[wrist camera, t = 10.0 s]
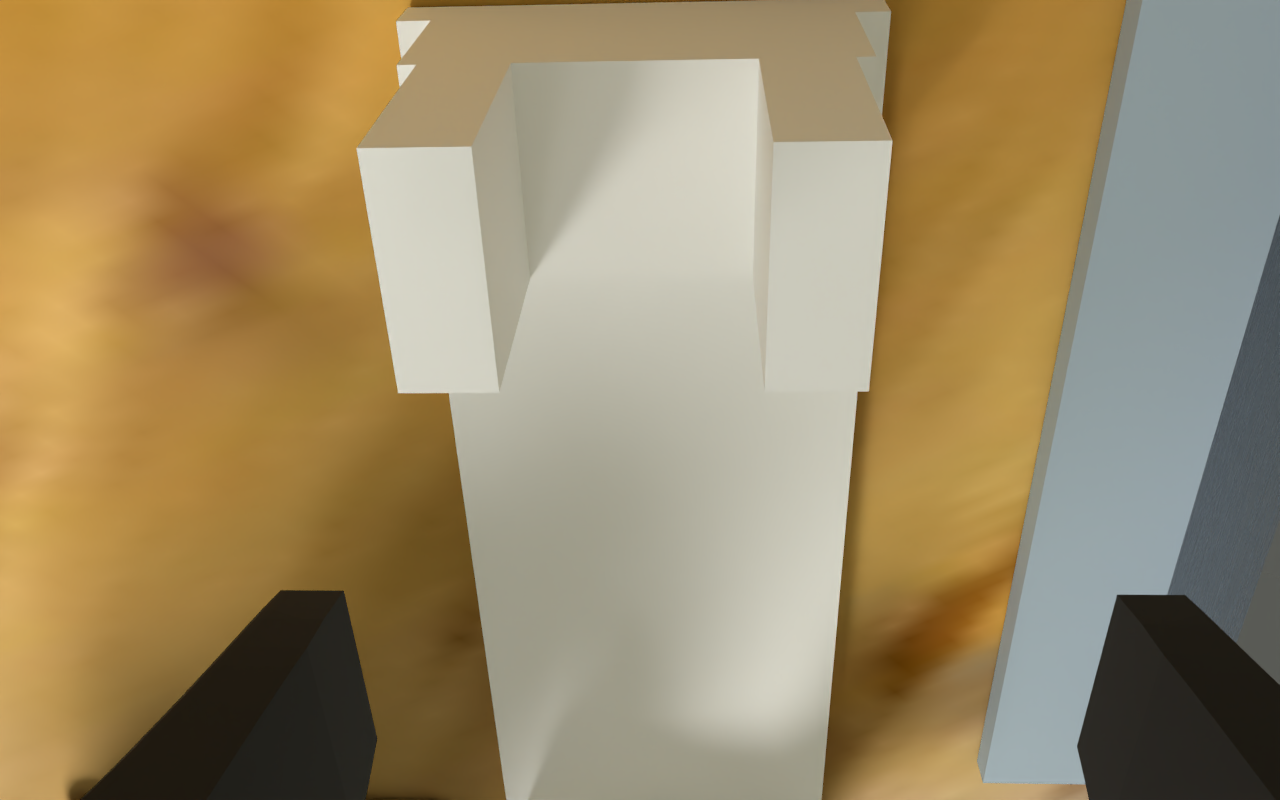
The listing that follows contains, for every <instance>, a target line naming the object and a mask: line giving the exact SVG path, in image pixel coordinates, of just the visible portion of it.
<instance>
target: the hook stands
mask: <svg viewBox="0 0 1280 800" xmlns="http://www.w3.org/2000/svg"><path fill="white" fill-rule="evenodd" d="M890 19H891V10H890V9H889V7H888V5H887V4H886V2H885V0H751V1H702V2H653V3H604V4H555V5H506V6H456V7H408V8H407V9H406V10H405V11H404V12H403V14H402V15H401V16H400V17H399V18H398V19H397V21H396V25H397V32H398V39H399V47H400V54H401V60H400V61H399V63H398V64H397V72H398V79H399V86H400V88H399V89H398V91H397V92H396V94H395V95H394V96H393V98H392V99H391V101H390V102H389V103H388V105H387V106H386V108H385V109H384V110H383V112H382V113H381V115H380V116H379V117H378V119H377V120H376V122H375V123H374V124H373V126H372V127H371V129H370V130H369V131H368V133H367V134H366V136H365V137H364V138H363V140H362V141H361V143H360V144H359V145H358V147H357V154H358V160H359V166H360V172H361V178H362V183H363V189H364V195H365V201H366V207H367V213H368V219H369V225H370V230H371V236H372V242H373V248H374V254H375V260H376V266H377V272H378V277H379V283H380V289H381V295H382V301H383V307H384V313H385V319H386V324H387V330H388V336H389V342H390V348H391V354H392V360H393V366H394V371H395V377H396V383H397V389H398V393H449V399H450V406H451V413H452V420H453V427H454V434H455V441H456V448H457V456H458V463H459V470H460V477H461V484H462V491H463V498H464V505H465V512H466V519H467V526H468V533H469V540H470V547H471V554H472V561H473V568H474V575H475V582H476V589H477V597H478V604H479V611H480V618H481V625H482V632H483V639H484V646H485V653H486V660H487V667H488V674H489V681H490V688H491V695H492V702H493V709H494V716H495V723H496V731H497V738H498V745H499V752H500V759H501V766H502V773H503V780H504V787H505V794H506V800H822V789H823V777H824V766H825V755H826V743H827V732H828V721H829V709H830V698H831V687H832V675H833V664H834V653H835V642H836V630H837V619H838V608H839V596H840V585H841V574H842V562H843V551H844V540H845V528H846V517H847V506H848V494H849V483H850V472H851V460H852V449H853V438H854V426H855V415H856V404H857V392H867V391H869V384H870V374H871V363H872V353H873V342H874V332H875V321H876V310H877V300H878V289H879V279H880V268H881V258H882V247H883V237H884V226H885V215H886V205H887V194H888V184H889V173H890V163H891V152H892V141H893V140H892V138H891V136H890V133H889V131H888V129H887V126H886V124H885V122H884V120H883V117H882V109H883V98H884V87H885V75H886V64H887V53H888V42H889V30H890Z"/></svg>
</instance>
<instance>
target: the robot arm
mask: <svg viewBox="0 0 1280 800" xmlns="http://www.w3.org/2000/svg"><path fill="white" fill-rule="evenodd" d="M376 742H377V736H376V732H375V727H374V723H373V718H372V714H371V709H370V705H369V701H368V696H367V692H366V687H365V683H364V679H363V674H362V670H361V665H360V661H359V656H358V652H357V648H356V643H355V639H354V634H353V630H352V625H351V621H350V617H349V612H348V608H347V603H346V599H345V594H344V591H284V590H281V591H280V592H279V593H278V594H277V595H276V596H275V597H274V598H273V599H272V600H271V601H270V602H269V603H268V604H267V605H266V606H265V607H264V608H263V609H262V610H261V611H260V612H259V613H258V614H257V615H256V617H255V618H254V619H253V620H252V621H251V622H250V623H249V624H248V625H247V626H246V627H245V628H244V630H243V631H242V632H241V633H240V634H239V635H238V636H237V637H236V638H235V639H234V640H233V642H232V643H231V644H230V645H229V646H228V647H227V648H226V649H225V650H224V651H223V652H222V654H221V655H220V656H219V657H218V658H217V659H216V660H215V661H214V662H213V663H212V664H211V666H210V667H209V668H208V669H207V670H206V671H205V672H204V673H203V674H202V675H201V676H200V677H199V678H198V680H197V681H196V682H195V683H194V684H193V685H192V686H191V687H190V688H189V689H188V690H187V691H186V692H185V694H184V695H183V696H182V697H181V698H180V699H179V700H178V701H177V702H176V703H175V704H174V705H173V706H172V707H171V708H170V709H169V710H168V712H167V713H166V714H165V715H164V716H163V717H162V718H161V719H160V720H159V721H158V722H157V723H156V724H155V725H154V726H153V727H152V728H151V729H150V730H149V731H148V732H147V733H146V734H145V735H144V736H143V737H142V738H141V739H140V741H139V742H138V743H137V744H136V745H135V746H134V747H133V748H132V749H131V750H130V751H129V752H128V753H127V754H126V755H125V756H124V757H123V758H122V759H121V760H120V761H119V762H118V763H117V764H116V765H115V766H114V767H113V768H112V769H111V770H110V771H109V772H108V773H107V774H106V775H105V776H104V777H103V778H102V779H101V780H100V781H99V782H98V783H97V784H96V785H95V786H94V787H93V788H92V789H91V790H90V791H89V792H88V793H87V794H86V795H85V796H84V797H83V798H81V799H80V800H365V799H366V795H367V789H368V784H369V779H370V774H371V768H372V763H373V758H374V752H375V747H376ZM1077 749H1078V753H1079V758H1080V762H1081V766H1082V771H1083V775H1084V779H1085V784H1086V788H1087V792H1088V797H1089V800H1280V685H1279V684H1278V683H1277V682H1276V681H1275V680H1274V679H1273V678H1272V677H1271V676H1270V675H1269V674H1268V673H1267V672H1266V671H1265V670H1264V669H1263V668H1261V667H1260V666H1259V665H1258V664H1257V663H1256V662H1255V661H1254V660H1253V659H1252V658H1251V657H1250V656H1249V655H1248V654H1247V653H1246V652H1245V651H1244V650H1243V649H1242V648H1241V647H1240V646H1239V645H1238V644H1237V643H1236V642H1235V641H1233V640H1232V639H1231V638H1230V637H1229V636H1228V635H1227V634H1226V633H1225V632H1224V631H1223V630H1222V629H1221V628H1220V627H1219V626H1218V625H1217V624H1216V623H1215V622H1214V621H1213V620H1212V619H1210V618H1209V617H1208V616H1207V615H1206V614H1205V613H1204V612H1203V611H1202V610H1201V609H1200V608H1199V607H1198V606H1197V605H1196V604H1194V603H1193V602H1192V601H1191V600H1190V599H1189V598H1188V597H1187V596H1186V595H1117V597H1116V601H1115V604H1114V608H1113V612H1112V616H1111V619H1110V623H1109V627H1108V631H1107V635H1106V638H1105V642H1104V646H1103V650H1102V653H1101V657H1100V661H1099V665H1098V669H1097V672H1096V676H1095V680H1094V684H1093V688H1092V691H1091V695H1090V699H1089V703H1088V706H1087V710H1086V714H1085V718H1084V722H1083V725H1082V729H1081V733H1080V737H1079V740H1078V744H1077Z"/></svg>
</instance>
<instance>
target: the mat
mask: <svg viewBox="0 0 1280 800" xmlns="http://www.w3.org/2000/svg"><path fill="white" fill-rule="evenodd" d="M1279 215H1280V0H1127V1H1126V6H1125V11H1124V16H1123V21H1122V26H1121V31H1120V36H1119V41H1118V46H1117V51H1116V57H1115V62H1114V67H1113V72H1112V77H1111V82H1110V87H1109V92H1108V97H1107V102H1106V107H1105V113H1104V118H1103V123H1102V128H1101V133H1100V138H1099V143H1098V148H1097V153H1096V158H1095V163H1094V169H1093V174H1092V179H1091V184H1090V189H1089V194H1088V199H1087V204H1086V209H1085V214H1084V220H1083V225H1082V230H1081V235H1080V240H1079V245H1078V250H1077V255H1076V260H1075V265H1074V270H1073V276H1072V281H1071V286H1070V291H1069V296H1068V301H1067V306H1066V311H1065V316H1064V321H1063V326H1062V332H1061V337H1060V342H1059V347H1058V352H1057V357H1056V362H1055V367H1054V372H1053V377H1052V382H1051V388H1050V393H1049V398H1048V403H1047V408H1046V413H1045V418H1044V423H1043V428H1042V433H1041V438H1040V444H1039V449H1038V454H1037V459H1036V464H1035V469H1034V474H1033V479H1032V484H1031V489H1030V494H1029V500H1028V505H1027V510H1026V515H1025V520H1024V525H1023V530H1022V535H1021V540H1020V545H1019V550H1018V556H1017V561H1016V566H1015V571H1014V576H1013V581H1012V586H1011V591H1010V596H1009V601H1008V606H1007V612H1006V617H1005V622H1004V627H1003V632H1002V637H1001V642H1000V647H999V652H998V657H997V662H996V668H995V673H994V678H993V683H992V688H991V693H990V698H989V703H988V708H987V713H986V718H985V724H984V729H983V734H982V739H981V744H980V749H979V754H978V759H977V762H978V766H979V769H980V773H981V777H982V781H983V783H1029V784H1085V779H1084V775H1083V771H1082V766H1081V762H1080V758H1079V753H1078V749H1077V744H1078V740H1079V737H1080V733H1081V729H1082V725H1083V722H1084V718H1085V714H1086V710H1087V706H1088V703H1089V699H1090V695H1091V691H1092V688H1093V684H1094V680H1095V676H1096V672H1097V669H1098V665H1099V661H1100V657H1101V653H1102V650H1103V646H1104V642H1105V638H1106V635H1107V631H1108V627H1109V623H1110V619H1111V616H1112V612H1113V608H1114V604H1115V601H1116V597H1117V595H1167V594H1168V590H1169V587H1170V583H1171V580H1172V577H1173V573H1174V570H1175V566H1176V563H1177V560H1178V556H1179V553H1180V550H1181V546H1182V543H1183V539H1184V536H1185V533H1186V529H1187V526H1188V523H1189V519H1190V516H1191V512H1192V509H1193V506H1194V502H1195V499H1196V496H1197V492H1198V489H1199V485H1200V482H1201V479H1202V475H1203V472H1204V469H1205V465H1206V462H1207V458H1208V455H1209V452H1210V448H1211V445H1212V442H1213V438H1214V435H1215V431H1216V428H1217V425H1218V421H1219V418H1220V415H1221V411H1222V408H1223V404H1224V401H1225V398H1226V394H1227V391H1228V388H1229V384H1230V381H1231V377H1232V374H1233V371H1234V367H1235V364H1236V360H1237V357H1238V354H1239V350H1240V347H1241V344H1242V340H1243V337H1244V333H1245V330H1246V327H1247V323H1248V320H1249V317H1250V313H1251V310H1252V306H1253V303H1254V300H1255V296H1256V293H1257V290H1258V286H1259V283H1260V279H1261V276H1262V273H1263V269H1264V266H1265V263H1266V259H1267V256H1268V252H1269V249H1270V246H1271V242H1272V239H1273V236H1274V232H1275V229H1276V225H1277V222H1278V219H1279Z"/></svg>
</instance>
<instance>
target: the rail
mask: <svg viewBox="0 0 1280 800" xmlns="http://www.w3.org/2000/svg"><path fill="white" fill-rule="evenodd" d="M1167 595H1186V596H1187V597H1188V598H1189V599H1190V600H1191V601H1192V602H1193V603H1194V604H1196V605H1197V606H1198V607H1199V608H1200V609H1201V610H1202V611H1203V612H1204V613H1205V614H1206V615H1207V616H1208V617H1209V618H1210V619H1212V620H1213V621H1214V622H1215V623H1216V624H1217V625H1218V626H1219V627H1220V628H1221V629H1222V630H1223V631H1224V632H1225V633H1226V634H1227V635H1228V636H1229V637H1230V638H1231V639H1232V640H1233V641H1235V642H1236V643H1237V644H1238V645H1239V646H1240V647H1241V648H1242V649H1243V650H1244V651H1245V652H1246V653H1247V654H1248V655H1249V656H1250V657H1251V658H1252V659H1253V660H1254V661H1255V662H1256V663H1257V664H1258V665H1259V666H1260V667H1261V668H1263V669H1264V670H1265V671H1266V672H1267V673H1268V674H1269V675H1270V676H1271V677H1272V678H1273V679H1274V680H1275V681H1276V682H1277V683H1278V684H1279V685H1280V215H1279V219H1278V222H1277V225H1276V229H1275V232H1274V236H1273V239H1272V242H1271V246H1270V249H1269V252H1268V256H1267V259H1266V263H1265V266H1264V269H1263V273H1262V276H1261V279H1260V283H1259V286H1258V290H1257V293H1256V296H1255V300H1254V303H1253V306H1252V310H1251V313H1250V317H1249V320H1248V323H1247V327H1246V330H1245V333H1244V337H1243V340H1242V344H1241V347H1240V350H1239V354H1238V357H1237V360H1236V364H1235V367H1234V371H1233V374H1232V377H1231V381H1230V384H1229V388H1228V391H1227V394H1226V398H1225V401H1224V404H1223V408H1222V411H1221V415H1220V418H1219V421H1218V425H1217V428H1216V431H1215V435H1214V438H1213V442H1212V445H1211V448H1210V452H1209V455H1208V458H1207V462H1206V465H1205V469H1204V472H1203V475H1202V479H1201V482H1200V485H1199V489H1198V492H1197V496H1196V499H1195V502H1194V506H1193V509H1192V512H1191V516H1190V519H1189V523H1188V526H1187V529H1186V533H1185V536H1184V539H1183V543H1182V546H1181V550H1180V553H1179V556H1178V560H1177V563H1176V566H1175V570H1174V573H1173V577H1172V580H1171V583H1170V587H1169V590H1168V594H1167Z"/></svg>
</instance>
